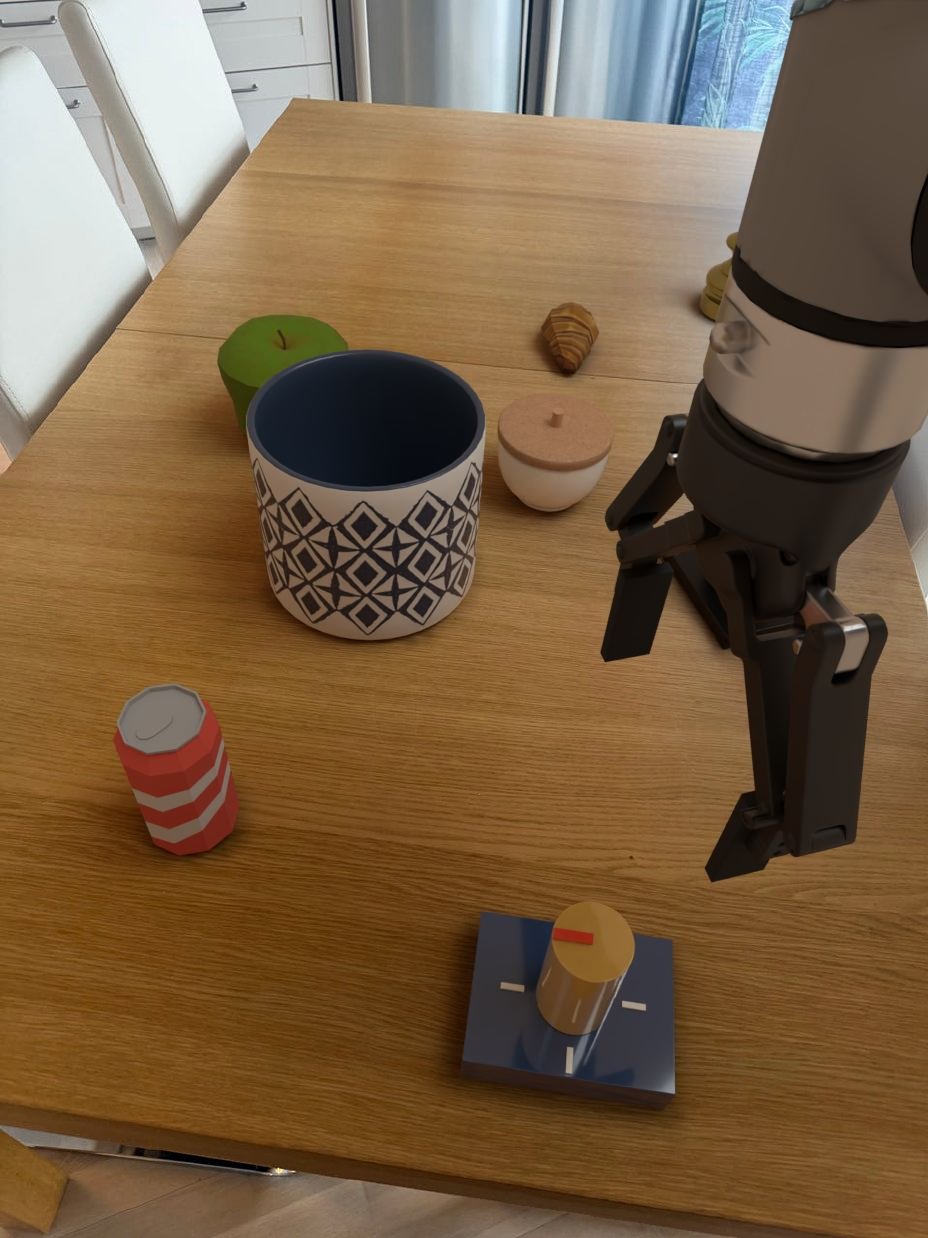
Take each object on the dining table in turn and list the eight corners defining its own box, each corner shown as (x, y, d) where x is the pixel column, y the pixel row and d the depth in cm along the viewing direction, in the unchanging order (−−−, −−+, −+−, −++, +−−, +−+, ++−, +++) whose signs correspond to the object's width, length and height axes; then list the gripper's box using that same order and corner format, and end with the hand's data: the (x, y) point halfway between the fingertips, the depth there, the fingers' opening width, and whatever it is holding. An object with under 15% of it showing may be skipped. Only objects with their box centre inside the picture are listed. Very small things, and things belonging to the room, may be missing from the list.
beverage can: (129, 821, 64) (86, 719, 56) (204, 765, 68) (174, 660, 59) (183, 877, 62) (146, 779, 53) (258, 816, 65) (235, 714, 56)
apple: (260, 480, 90) (246, 379, 81) (211, 414, 96) (193, 315, 88) (374, 442, 95) (371, 343, 86) (319, 381, 101) (312, 285, 93)
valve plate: (662, 958, 60) (673, 938, 57) (664, 1110, 54) (676, 1094, 51) (478, 930, 60) (481, 909, 58) (459, 1077, 54) (462, 1060, 52)
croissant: (540, 314, 113) (545, 275, 110) (595, 319, 113) (602, 280, 109) (537, 375, 104) (542, 336, 100) (597, 381, 104) (604, 341, 100)
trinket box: (597, 535, 87) (613, 455, 80) (484, 518, 88) (491, 437, 81) (604, 465, 94) (620, 386, 87) (500, 450, 95) (508, 370, 88)
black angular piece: (824, 626, 80) (881, 514, 71) (722, 649, 78) (767, 537, 68) (754, 535, 88) (797, 423, 78) (660, 553, 85) (692, 441, 76)
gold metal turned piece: (746, 295, 119) (769, 218, 112) (766, 325, 114) (791, 247, 107) (691, 296, 118) (710, 218, 111) (709, 327, 113) (730, 248, 106)
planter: (298, 669, 74) (278, 514, 62) (247, 524, 85) (222, 368, 73) (506, 614, 79) (525, 461, 67) (432, 484, 90) (437, 333, 78)
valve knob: (610, 966, 56) (636, 905, 50) (608, 1041, 53) (635, 986, 47) (538, 955, 56) (555, 893, 50) (532, 1029, 53) (549, 973, 47)
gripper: (580, 245, 39) (530, 593, 55) (922, 699, 23) (714, 1009, 39) (739, 231, 41) (646, 573, 57) (1162, 649, 25) (870, 966, 40)
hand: (674, 751), depth 48 cm, fingers open, 13 cm apart
